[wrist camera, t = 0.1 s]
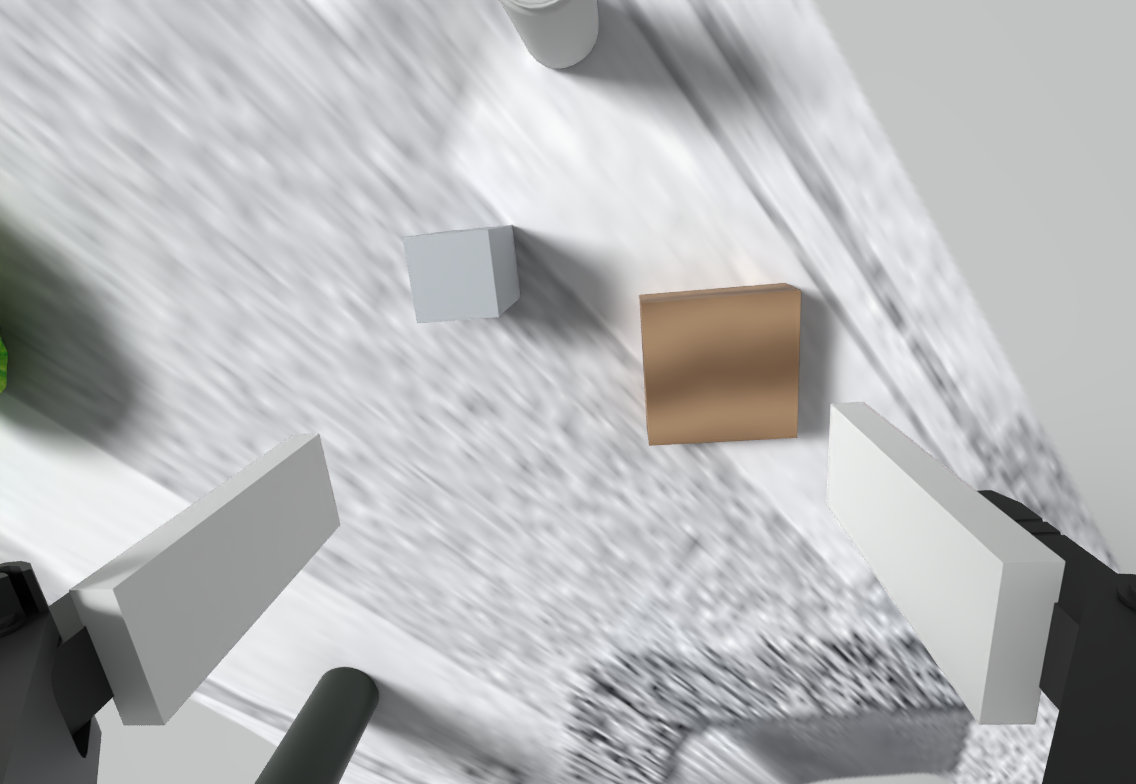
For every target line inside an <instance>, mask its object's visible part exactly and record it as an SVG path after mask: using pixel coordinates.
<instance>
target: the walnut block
mask: <svg viewBox="0 0 1136 784" xmlns="http://www.w3.org/2000/svg"><path fill="white" fill-rule="evenodd" d="M639 298H640V315H641V333H642V350H643V368H644V385H645V403H646V420H647V432H648V440H649V446H651V445H669V444H688V443H707V442H725V441H744V440H763V439H781V438H797V426H798V387H799V349H800V311H801V290H799V289H797V288H795V287H793V286H790V285H788V284H786V283H779V284H767V285H755V286H743V287H730V288H718V289H706V290H694V291H682V292H670V293H657V294H645V295H639Z"/></svg>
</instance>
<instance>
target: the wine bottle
mask: <svg viewBox="0 0 1136 784" xmlns="http://www.w3.org/2000/svg"><path fill="white" fill-rule="evenodd" d="M378 698H379V695H378V690H377V688H376V686H375V684H374V683H373V681H372V680H371V679H370V678H369V677H368V676H367V675H365V674H364V673H362V672H360V671H358V670H355V669H352V668H344V667H342V668H335V669H332V670H330V671H328V672H326V673H325V674H324V675H323V676H322V678H321V679H320V681H319V682H318V684H317V686H316V687H315V689H314V690H313V692H312V694H311V695H310V697H309V698H308V700H307V701H306V703H305V705H304V706H303V708H302V709H301V711H300V713H299V714H298V716H297V717H296V719H295V721H294V722H293V724H292V725H291V727H290V728H289V730H288V732H287V733H286V735H285V736H284V738H283V740H282V741H281V743H280V744H279V746H278V747H277V749H276V751H275V752H274V754H273V755H272V757H271V759H270V760H269V762H268V763H267V765H266V766H265V768H264V770H263V771H262V773H261V774H260V776H259V778H258V779H257V781H256V782H255V784H339V782H340V780H341V778H342V776H343V774H344V772H345V769H346V767H347V765H348V763H349V761H350V759H351V757H352V755H353V753H354V751H355V749H356V747H357V745H358V743H359V741H360V739H361V736H362V734H363V732H364V730H365V728H366V726H367V724H368V722H369V720H370V718H371V716H372V714H373V712H374V710H375V708H376V706H377V703H378Z"/></svg>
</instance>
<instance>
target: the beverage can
mask: <svg viewBox="0 0 1136 784" xmlns="http://www.w3.org/2000/svg"><path fill="white" fill-rule="evenodd" d="M499 1H500V3H501V4H502V6H503V8H504V10H505V11H506V13H507V15H508V16H509V18H510V20H511V22H512V23H513V25H514V27H515V28H516V30H517V32H518V34H519V35H520V37H521V39H522V40H523V42H524V44H525V46H526V47H527V49H528V51H529V53H530V54H531V55H532V56H533V57H534V58H535V59H536V61H537V62H539V63H541V64H542V65H544V66H546V67H550V68H554V69H558V68H566V67H569V66H572V65H575V64H576V63H578V62H580V61H581V60H583V59H584V58H585V57H586V56H587V55H588V54H589V53H590V52H591V50H592V48H593V46H594V45H595V43H596V40H597V36H598V31H599V15H598V6H597V0H499Z"/></svg>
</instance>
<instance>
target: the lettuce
mask: <svg viewBox="0 0 1136 784" xmlns="http://www.w3.org/2000/svg"><path fill="white" fill-rule="evenodd" d="M7 360H8V352H7V350H6V348H5V345H4V343H3V340H2V338H1V335H0V394H1V392H2V391H3V390H4V389H5V388H6V385H7Z"/></svg>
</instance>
